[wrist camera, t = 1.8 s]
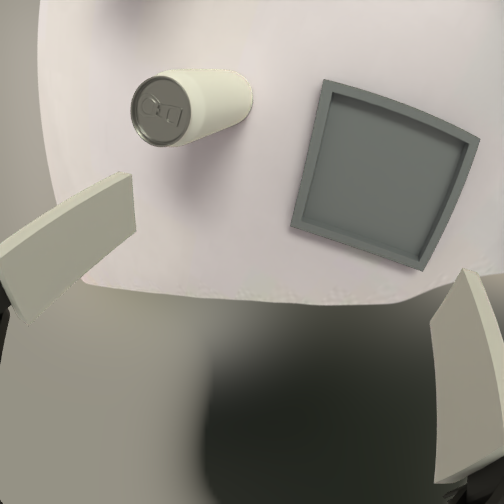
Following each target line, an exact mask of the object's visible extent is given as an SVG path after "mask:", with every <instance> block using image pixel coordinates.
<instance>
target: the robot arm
mask: <svg viewBox="0 0 504 504" xmlns="http://www.w3.org/2000/svg"><path fill="white" fill-rule="evenodd" d="M135 232H136V224H135V213H134V200H133V185H132V174H128V173H123V172H117V173H115V174H113V175H111V176H109V177H107V178H105V179H104V180H102V181H100V182H98V183H96V184H94V185H92V186H90V187H89V188H87V189H85V190H83V191H81V192H80V193H78V194H76V195H74V196H73V197H71V198H69V199H68V200H66V201H64V202H62V203H61V204H59V205H57V206H56V207H54V208H53V209H51V210H49V211H48V212H46V213H45V214H43V215H42V216H40V217H38V218H37V219H35V220H34V221H32V222H31V223H29V224H28V225H26V226H25V227H23V228H22V229H20V230H19V231H17V232H16V233H14V234H13V235H12V236H10V237H9V238H7V239H6V240H5V241H3V242H2V243H0V362H1V356H2V351H3V345H4V340H5V336H6V330H7V327H8V322H9V318H10V312H9V310H8V307H9V306H10V305H12V307H13V309H14V311H15V313H16V315H17V316H18V318H20V319H21V320H22V321H23V322H24V323H25V324H26V325H28V326H29V325H30V324H31V323H33V322H34V321H35V320H36V319H37V317H39V315H41V314H42V313H43V312H44V311H45V310H46V309H47V308H48V307H49V306H50V305H51V304H52V303H53V302H54V301H55V300H56V299H57V298H59V297H60V296H61V295H62V294H63V293H64V292H65V291H66V290H67V289H68V288H69V287H71V286H72V285H73V284H74V283H75V282H76V281H77V280H78V279H80V278H81V277H82V276H83V275H84V274H85V273H86V272H88V271H89V270H90V269H91V268H92V267H93V266H95V265H96V264H97V263H98V262H99V261H100V260H102V259H103V258H104V257H105V256H106V255H108V254H109V253H110V252H111V251H112V250H114V249H115V248H116V247H117V246H119V245H120V244H121V243H122V242H123V241H125V240H126V239H127V238H128V237H130V236H131V235H132V234H134V233H135ZM430 329H431V337H432V345H433V354H434V364H435V376H436V393H437V450H436V467H435V479H434V483H455V482H457V481H459V480H461V479H463V478H465V477H467V476H468V480H467V484H466V485H463V486H461V487H459V488H457V489H454V490H452V491H450V492H447V493H446V494H445V495H444V496H443V498H447V497H450V496H452V495H455V496H454V497H453V498H452V499H450V500H448V501H447V502H448V504H504V342H503V339H502V336H501V333H500V330H499V327H498V323H497V321H496V318H495V315H494V312H493V310H492V307H491V304H490V301H489V299H488V296H487V294H486V291H485V289H484V287H483V284H482V282H481V279H480V277H479V275H478V273H475V272H473V271H470V270H467V269H465V268H462V270H461V272H460V273H459V275H458V277H457V279H456V280H455V282H454V284H453V286H452V287H451V289H450V291H449V292H448V294H447V296H446V297H445V299H444V300H443V302H442V304H441V305H440V307H439V308H438V310H437V311H436V313H435V315H434V316H433V318H432V319H431V321H430ZM0 504H3V503H2V502H1V501H0Z"/></svg>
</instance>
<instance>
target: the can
mask: <svg viewBox="0 0 504 504" xmlns="http://www.w3.org/2000/svg"><path fill="white" fill-rule="evenodd" d="M252 102H253V95H252V90H251V87H250V85H249V83H248V82H247V80H246V79H245V78H244V77H243V76H241V75H240V74H238V73H236V72H234V71H230V70H218V69H179V70H168V71H164V72H161V73H159V74H157V75H155V76H154V77H151V78H149V79H147V80H145V81H144V82H143V83H142V84H141V85H140V86H139V87H138V88H137V90H136V91H135V93H134V95H133V98H132V102H131V119H132V123H133V126H134V128H135V130H136V132H137V133H138V135H139V136H140V137H141V138H142V139H143V140H144V141H145V142H147V143H148V144H150V145H153V146H156V147H178V146H183V145H186V144H188V143H191V142H193V141H196V140H198V139H201V138H203V137H206V136H208V135H210V134H213V133H215V132H218V131H221V130H223V129H226V128H228V127H231V126H233V125H235V124H238V123H239V122H241V121H242V120H243V119H244V118H245V117H246V116H247V115H248V113H249V112H250V109H251V107H252Z"/></svg>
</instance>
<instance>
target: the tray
mask: <svg viewBox="0 0 504 504" xmlns="http://www.w3.org/2000/svg"><path fill="white" fill-rule="evenodd" d="M479 142H480V138H478V137H476V136H474V135H472V134H470V133H468V132H466V131H464V130H462V129H460V128H458V127H456V126H454V125H452V124H450V123H448V122H446V121H444V120H441V119H439V118H437V117H435V116H432V115H430V114H428V113H425V112H423V111H421V110H418V109H416V108H413V107H411V106H408V105H406V104H403V103H400V102H397V101H395V100H392V99H389V98H386V97H383V96H380V95H377V94H374V93H371V92H368V91H365V90H362V89H358V88H355V87H351V86H348V85H344V84H341V83H337V82H333V81H329V80H325V79H324V80H323V85H322V90H321V95H320V100H319V104H318V109H317V114H316V118H315V123H314V127H313V132H312V136H311V141H310V145H309V150H308V154H307V159H306V163H305V167H304V171H303V176H302V180H301V184H300V188H299V193H298V197H297V201H296V205H295V209H294V213H293V217H292V221H291V225H290V226H291V227H294V228H298V229H301V230H304V231H307V232H310V233H313V234H316V235H319V236H322V237H325V238H328V239H331V240H334V241H337V242H340V243H343V244H346V245H349V246H352V247H355V248H358V249H361V250H364V251H367V252H369V253H372V254H375V255H378V256H381V257H384V258H387V259H389V260H392V261H395V262H398V263H401V264H403V265H406V266H409V267H412V268H414V269H417V270H420V271H422V272H423V270H424V268H425V267H426V265H427V263H428V261H429V259H430V257H431V255H432V254H433V252H434V250H435V248H436V246H437V244H438V242H439V240H440V238H441V236H442V234H443V232H444V230H445V227H446V225H447V223H448V221H449V219H450V217H451V214H452V212H453V210H454V208H455V205H456V203H457V201H458V198H459V196H460V194H461V191H462V189H463V186H464V184H465V181H466V179H467V176H468V173H469V171H470V168H471V165H472V162H473V160H474V157H475V154H476V151H477V148H478V145H479Z"/></svg>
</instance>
